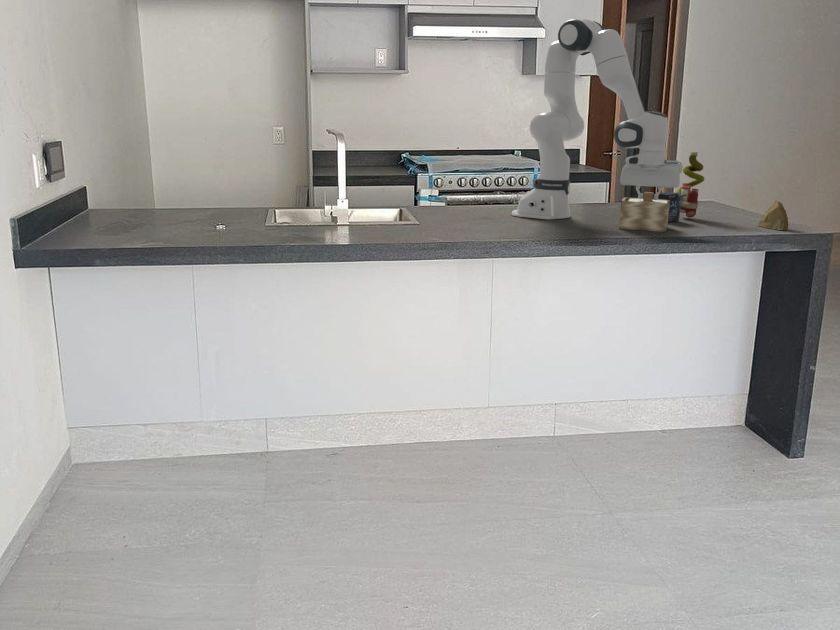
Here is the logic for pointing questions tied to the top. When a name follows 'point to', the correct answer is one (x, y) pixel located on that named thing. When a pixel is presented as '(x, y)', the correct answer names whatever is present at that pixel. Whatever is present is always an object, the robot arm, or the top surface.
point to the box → (672, 204)
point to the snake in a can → (691, 197)
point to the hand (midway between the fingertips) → (647, 199)
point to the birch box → (644, 215)
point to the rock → (775, 217)
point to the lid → (648, 198)
